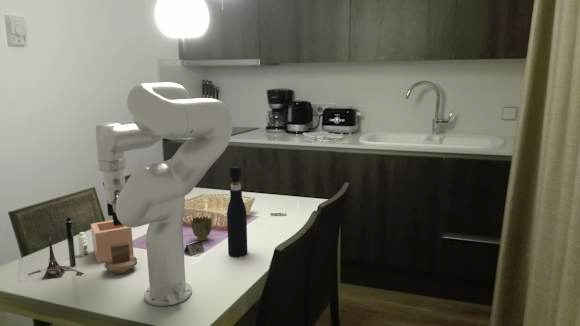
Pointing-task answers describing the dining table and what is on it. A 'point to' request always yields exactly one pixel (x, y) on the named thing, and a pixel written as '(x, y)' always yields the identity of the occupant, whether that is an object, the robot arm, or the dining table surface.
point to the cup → (201, 227)
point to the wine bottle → (236, 217)
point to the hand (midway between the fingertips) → (116, 219)
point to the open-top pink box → (109, 238)
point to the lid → (120, 259)
